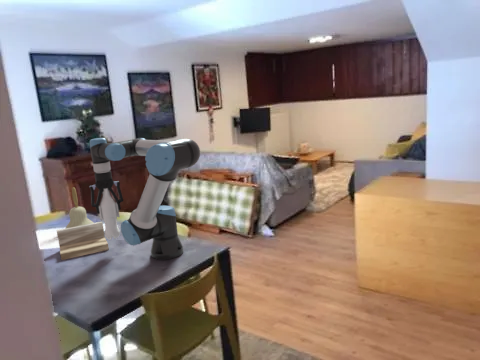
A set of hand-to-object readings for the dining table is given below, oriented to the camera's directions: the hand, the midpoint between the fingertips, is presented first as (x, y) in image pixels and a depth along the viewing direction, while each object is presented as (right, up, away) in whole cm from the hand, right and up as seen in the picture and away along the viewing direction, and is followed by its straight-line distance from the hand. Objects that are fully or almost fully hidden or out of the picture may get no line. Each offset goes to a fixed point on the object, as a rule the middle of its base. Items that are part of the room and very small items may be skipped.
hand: (110, 218), depth 196 cm
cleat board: (-16, -17, +10) cm, 25 cm away
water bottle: (+1, -10, +2) cm, 10 cm away
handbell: (-32, -10, +45) cm, 56 cm away
